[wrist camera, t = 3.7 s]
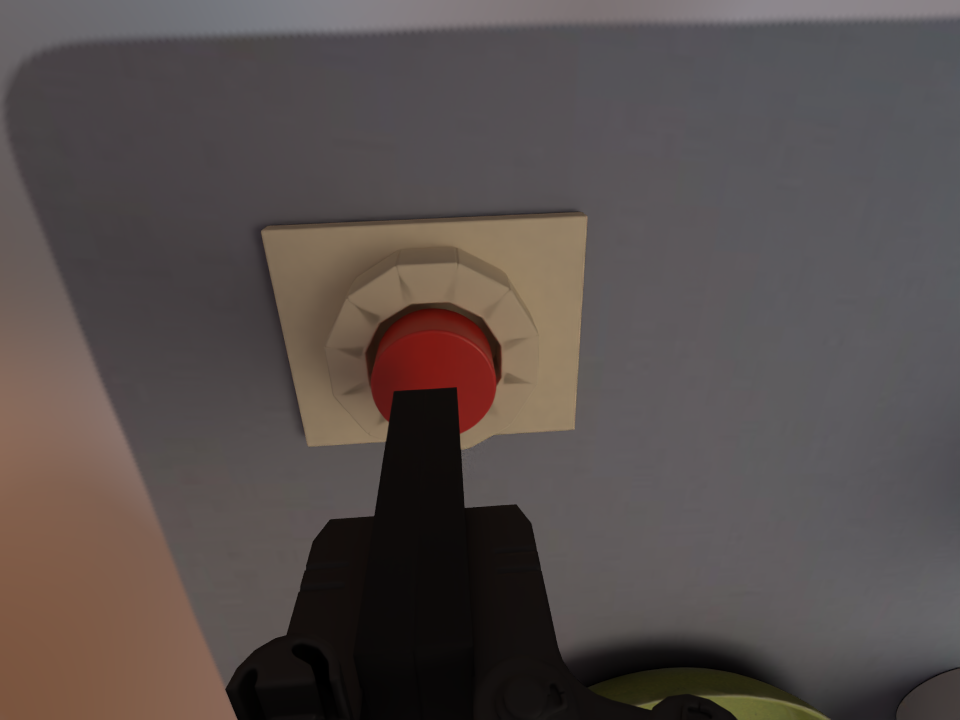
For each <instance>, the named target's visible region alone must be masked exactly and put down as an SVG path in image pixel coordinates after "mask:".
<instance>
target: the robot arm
mask: <svg viewBox="0 0 960 720" xmlns="http://www.w3.org/2000/svg"><path fill="white" fill-rule="evenodd" d="M225 690H226V692H227V695H228V697H229V700H230V702H231V704H232V707H233V709H234V712H235V714H236V717H237V719H238V720H738V719H737V718H736V717H735V716H734V715H733V714H732V713H731V712H730V711H728V710H726V709H725V708H723V707H721V706H720V705H718V704H716V703H715V702H713V701H712V700H710V699H707V698H703V697H699V696H695V695H691V694H681V695H674V696H668V697H666V698H665V699H663V700H662V701H661V702H659V703H658V704H656V705H655V706H654V707H653V708H652V710H649V709H645V708H641V707H637V706H634V705H630V704H626V703H622V702H618V701H614V700H611V699H608V698H606V697H603V696H601V695H598V694H596V693H594V692H593V691H591V690H590V689H588V688H587V687H585V686H584V685H582V684H581V683H580V682H579V681H578V680H577V679H576V678H575V677H574V676H573V675H572V674H571V673H570V671H569V669H568V668H567V666H566V665H565V663H564V662H563V660H562V657H561V654H560V651H559V648H558V645H557V640H556V635H555V631H554V626H553V622H552V617H551V612H550V608H549V603H548V598H547V594H546V589H545V584H544V580H543V575H542V571H541V566H540V561H539V557H538V552H537V549H536V543H535V538H534V533H533V529H532V524H531V522H530V521H529V520H528V519H527V517H526V516H525V515H524V513H523V512H522V511H521V510H520V508H519V507H518V506H517V505H516V504H515V505H501V506H487V507H473V508H464V492H463V475H462V459H461V443H460V427H459V410H458V394H457V387H451V388H435V389H418V390H402V391H394V392H393V399H392V405H391V412H390V418H389V425H388V431H387V438H386V444H385V451H384V457H383V464H382V470H381V477H380V483H379V490H378V496H377V503H376V509H375V516H371V517H358V518H344V519H330V520H329V522H328V523H327V524H326V525H325V527H324V528H323V529H322V530H321V532H320V533H319V534H318V536H317V537H316V538H315V539H314V541H313V543H312V547H311V550H310V554H309V557H308V561H307V564H306V571H305V572H304V575H303V579H302V582H301V586H300V592H299V593H298V596H297V600H296V603H295V607H294V610H293V614H292V617H291V621H290V625H289V628H288V632H287V635H286V636H282V637H278V638H275V639H273V640H271V641H270V642H268V643H266V644H265V645H263V646H261V647H259V648H258V649H256V650H254V651H253V653H252V654H251V655H250V656H249V657H248V658H247V659H246V660H245V661H244V662H243V663H242V664H241V665H240V666H239V667H238V668H237V669H236V671H235V673H234V675H233V676H232V678H231V680H230V682H229V684H228V686H227V687H226V689H225Z"/></svg>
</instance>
